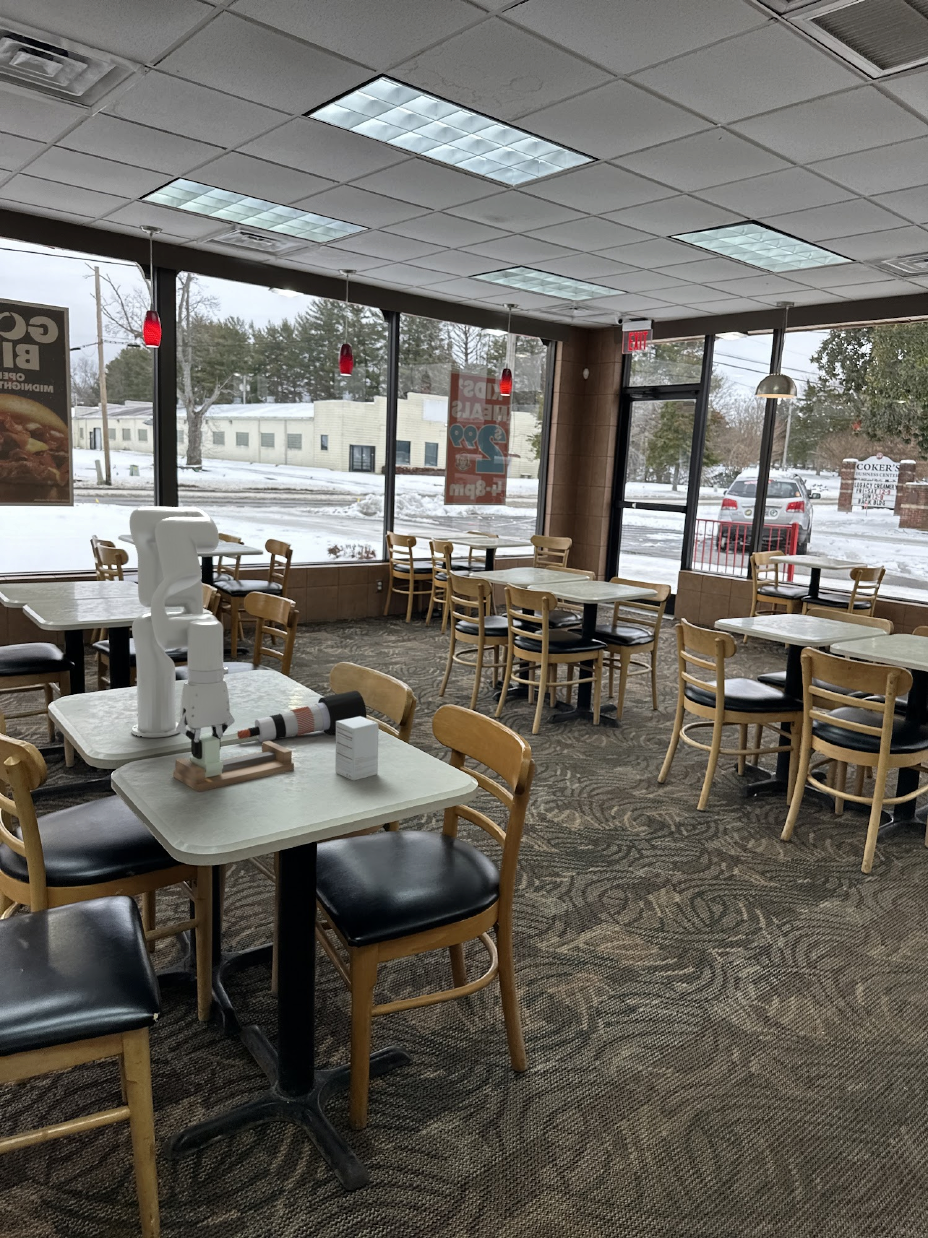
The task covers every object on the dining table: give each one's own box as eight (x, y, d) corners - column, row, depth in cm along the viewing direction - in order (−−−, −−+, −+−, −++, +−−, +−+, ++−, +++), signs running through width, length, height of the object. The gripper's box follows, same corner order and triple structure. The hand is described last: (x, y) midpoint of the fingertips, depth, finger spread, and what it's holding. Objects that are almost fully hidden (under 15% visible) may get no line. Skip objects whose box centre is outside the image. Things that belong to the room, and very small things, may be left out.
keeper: (189, 769, 194) (189, 734, 193) (206, 765, 197) (205, 731, 196) (206, 778, 189) (206, 743, 187) (223, 774, 191) (223, 740, 190)
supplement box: (359, 766, 206) (361, 715, 204) (378, 775, 201) (379, 722, 199) (334, 772, 201) (335, 720, 199) (352, 781, 196) (353, 727, 194)
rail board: (173, 776, 194) (173, 758, 193) (266, 756, 211) (267, 739, 210) (198, 791, 186) (198, 772, 185) (293, 769, 202) (294, 752, 201)
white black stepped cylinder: (238, 757, 223) (230, 720, 225) (357, 729, 239) (348, 695, 241) (247, 750, 214) (238, 712, 216) (369, 722, 231) (360, 686, 233)
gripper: (231, 668, 198) (231, 745, 201) (161, 677, 186) (163, 758, 189) (247, 674, 192) (247, 753, 195) (177, 684, 181) (178, 767, 184)
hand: (206, 755), depth 192 cm, fingers closed on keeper, 3 cm apart
